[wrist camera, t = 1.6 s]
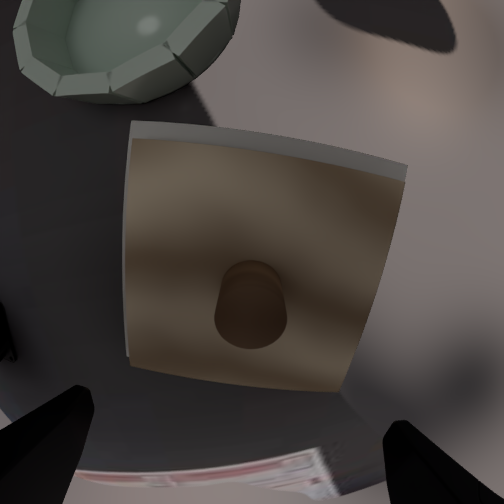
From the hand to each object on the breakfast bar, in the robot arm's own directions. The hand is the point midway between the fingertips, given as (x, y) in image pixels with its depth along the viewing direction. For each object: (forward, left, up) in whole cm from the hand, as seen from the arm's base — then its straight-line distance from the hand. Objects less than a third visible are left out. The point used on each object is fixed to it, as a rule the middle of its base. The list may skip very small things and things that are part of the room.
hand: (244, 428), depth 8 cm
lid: (0, 0, -11) cm, 11 cm away
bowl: (+15, +9, -12) cm, 21 cm away
